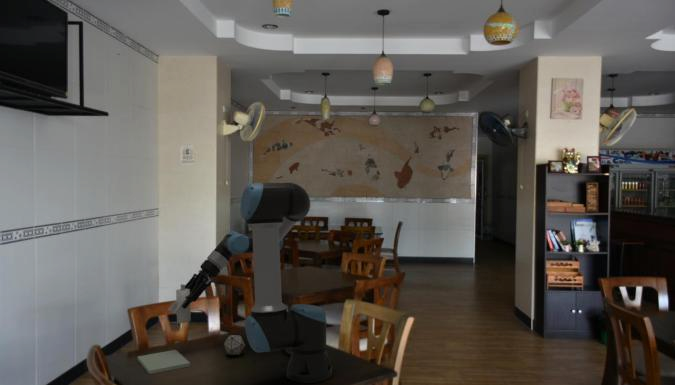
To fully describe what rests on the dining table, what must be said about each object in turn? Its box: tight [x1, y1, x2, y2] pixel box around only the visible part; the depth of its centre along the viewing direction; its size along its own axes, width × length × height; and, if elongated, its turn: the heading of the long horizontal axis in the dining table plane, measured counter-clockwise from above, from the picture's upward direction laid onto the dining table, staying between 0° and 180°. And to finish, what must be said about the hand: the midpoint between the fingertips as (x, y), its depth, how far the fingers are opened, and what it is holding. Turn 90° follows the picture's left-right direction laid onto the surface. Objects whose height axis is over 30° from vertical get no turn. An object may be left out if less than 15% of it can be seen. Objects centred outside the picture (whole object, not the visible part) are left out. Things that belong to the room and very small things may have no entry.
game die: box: [221, 333, 248, 358], centre depth 196 cm, size 9×8×10 cm
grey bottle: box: [175, 283, 192, 324], centre depth 200 cm, size 5×5×14 cm
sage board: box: [137, 349, 191, 375], centre depth 189 cm, size 18×14×1 cm
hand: (173, 312), depth 197 cm, fingers closed on grey bottle, 5 cm apart
